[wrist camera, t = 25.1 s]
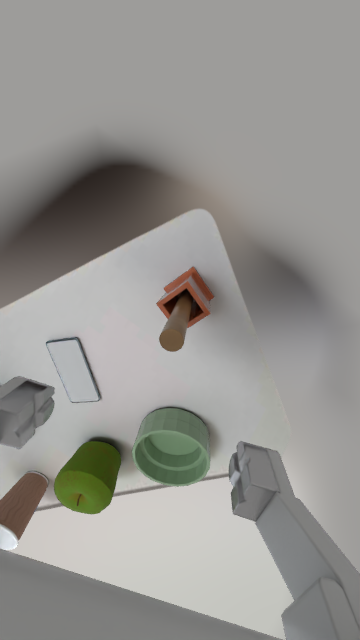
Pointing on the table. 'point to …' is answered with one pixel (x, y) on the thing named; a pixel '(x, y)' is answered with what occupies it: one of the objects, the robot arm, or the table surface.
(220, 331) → the table surface
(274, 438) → the table surface
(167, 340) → the stirring stick
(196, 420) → the green round dish
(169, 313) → the utensil holder
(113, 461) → the apple
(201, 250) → the table surface
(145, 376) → the table surface
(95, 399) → the smartphone
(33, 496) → the coffee cup
